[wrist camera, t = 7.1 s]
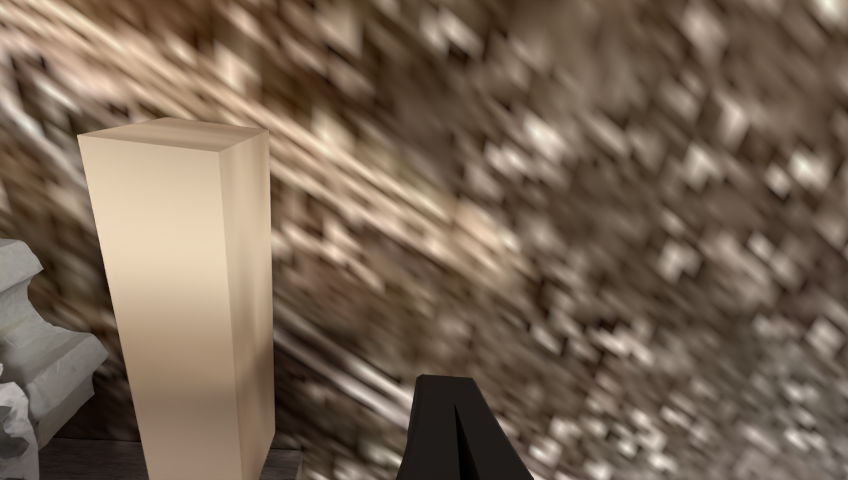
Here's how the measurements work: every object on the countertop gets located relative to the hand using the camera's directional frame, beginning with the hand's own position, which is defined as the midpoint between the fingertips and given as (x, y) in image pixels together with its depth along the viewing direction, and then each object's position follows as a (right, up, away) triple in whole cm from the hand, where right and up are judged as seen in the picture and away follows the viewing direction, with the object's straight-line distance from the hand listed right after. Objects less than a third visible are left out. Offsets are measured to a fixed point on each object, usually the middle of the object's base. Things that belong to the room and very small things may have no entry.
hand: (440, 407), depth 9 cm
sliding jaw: (-6, +2, +3) cm, 7 cm away
